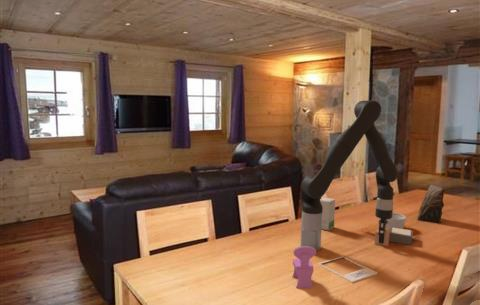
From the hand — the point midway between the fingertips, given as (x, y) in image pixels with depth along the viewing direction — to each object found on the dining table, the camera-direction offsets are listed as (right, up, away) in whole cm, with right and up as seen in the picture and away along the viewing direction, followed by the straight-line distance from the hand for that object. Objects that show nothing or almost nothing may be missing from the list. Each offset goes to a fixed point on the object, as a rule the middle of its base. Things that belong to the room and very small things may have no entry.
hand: (381, 240), depth 176 cm
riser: (+11, -1, +5) cm, 12 cm away
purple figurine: (-45, -6, -40) cm, 61 cm away
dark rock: (+41, +3, +38) cm, 56 cm away
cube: (0, -1, 0) cm, 2 cm away
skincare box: (-22, +2, +21) cm, 30 cm away
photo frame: (-25, -5, -29) cm, 38 cm away
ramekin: (+14, +1, +22) cm, 26 cm away
